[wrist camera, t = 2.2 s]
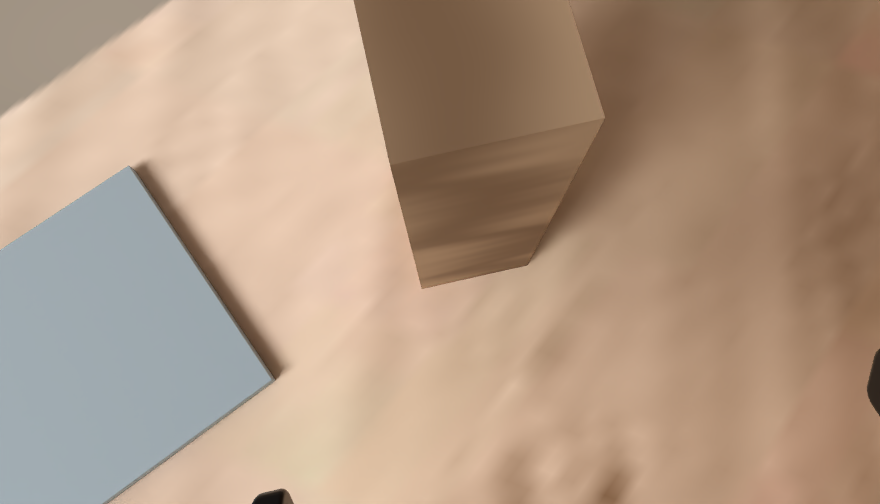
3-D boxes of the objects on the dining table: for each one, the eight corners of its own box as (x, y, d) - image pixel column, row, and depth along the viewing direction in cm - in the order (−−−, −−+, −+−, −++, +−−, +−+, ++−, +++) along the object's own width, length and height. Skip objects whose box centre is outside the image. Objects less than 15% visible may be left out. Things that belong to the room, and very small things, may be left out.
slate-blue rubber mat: (275, 380, 23) (271, 379, 22) (29, 560, 22) (19, 564, 21) (134, 170, 25) (128, 165, 24) (-99, 324, 24) (-111, 322, 23)
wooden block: (494, 143, 25) (535, -108, 13) (527, 264, 24) (605, 117, 12) (394, 164, 25) (338, -67, 13) (421, 288, 24) (389, 165, 12)
